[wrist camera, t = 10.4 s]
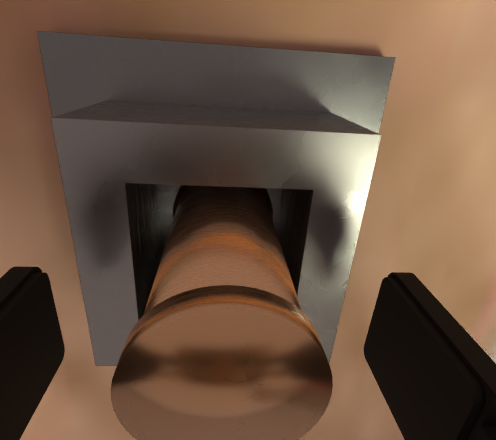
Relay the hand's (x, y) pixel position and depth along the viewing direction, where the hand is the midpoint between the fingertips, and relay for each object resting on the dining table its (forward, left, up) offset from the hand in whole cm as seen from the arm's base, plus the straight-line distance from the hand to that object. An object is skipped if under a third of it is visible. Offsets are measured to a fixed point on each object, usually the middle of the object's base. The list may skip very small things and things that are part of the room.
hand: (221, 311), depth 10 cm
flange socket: (0, 0, -8) cm, 8 cm away
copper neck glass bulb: (0, 0, -7) cm, 7 cm away
